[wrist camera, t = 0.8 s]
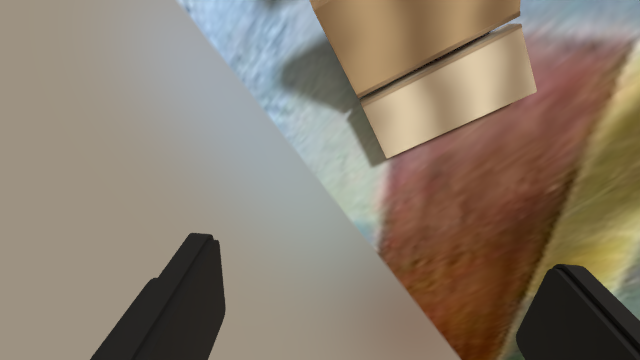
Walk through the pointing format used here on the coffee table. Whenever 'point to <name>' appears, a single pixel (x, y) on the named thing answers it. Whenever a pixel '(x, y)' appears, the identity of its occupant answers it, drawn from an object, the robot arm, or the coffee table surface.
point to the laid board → (451, 91)
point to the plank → (403, 33)
